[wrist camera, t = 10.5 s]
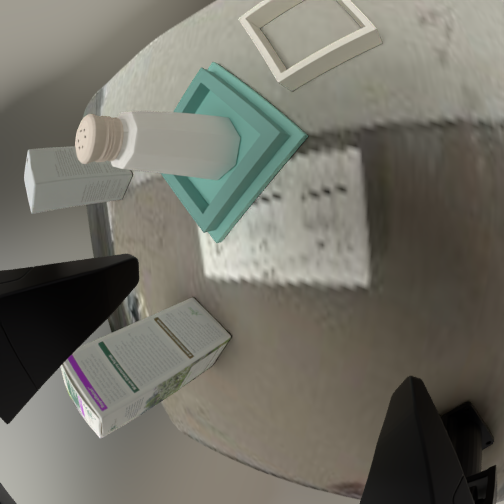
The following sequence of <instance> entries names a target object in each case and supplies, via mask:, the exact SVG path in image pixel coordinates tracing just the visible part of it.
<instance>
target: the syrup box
mask: <svg viewBox="0 0 504 504" xmlns="http://www.w3.org/2000/svg"><path fill="white" fill-rule="evenodd" d="M230 338H231V336H230V334H229V333H228V332H227V331H226V330H225V329H224V328H223V327H222V326H221V325H220V324H219V323H218V322H217V321H216V320H215V319H214V318H213V317H212V316H211V315H210V314H209V313H208V312H207V311H206V310H205V309H204V308H203V307H202V306H201V305H200V304H199V303H198V302H197V301H196V300H195V299H194V298H189V299H187V300H185V301H183V302H181V303H178V304H176V305H174V306H172V307H169V308H167V309H165V310H163V311H160V312H158V313H156V314H154V315H151V316H149V317H147V318H144V319H142V320H140V321H138V322H136V323H133V324H131V325H129V326H127V327H124V328H122V329H120V330H117V331H115V332H113V333H111V334H108V335H106V336H104V337H101V338H99V339H97V340H94V341H92V342H90V343H87V344H85V345H83V346H81V347H79V348H78V349H77V350H76V351H75V352H74V353H73V354H72V355H71V356H70V357H69V358H68V359H67V360H66V361H65V362H64V363H63V364H62V365H61V370H62V374H63V378H64V382H65V386H66V389H67V391H68V393H69V395H70V397H71V399H72V401H73V402H74V405H75V406H76V408H77V409H78V411H79V412H80V414H81V415H82V417H83V418H84V419H85V421H86V422H87V423H88V424H89V425H90V427H91V428H92V429H93V430H94V431H95V433H96V434H97V435H98V436H99V438H102V437H104V436H106V435H108V434H109V433H111V432H113V431H115V430H116V429H118V428H120V427H121V426H123V425H125V424H126V423H128V422H130V421H131V420H133V419H135V418H136V417H138V416H139V415H141V414H143V413H144V412H145V411H147V410H149V409H150V408H152V407H153V406H155V405H156V404H158V403H159V402H161V401H163V400H164V399H166V398H167V397H169V396H170V395H172V394H173V393H175V392H176V391H178V390H179V389H181V388H182V387H184V386H185V385H186V384H188V383H189V382H191V381H192V380H194V379H195V378H196V377H198V376H199V375H201V374H202V373H204V372H205V371H206V370H208V369H209V368H210V367H212V366H213V364H214V363H215V361H216V360H217V358H218V357H219V355H220V354H221V352H222V351H223V349H224V347H225V346H226V345H227V343H228V342H229V340H230Z"/></svg>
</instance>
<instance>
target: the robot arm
mask: <svg viewBox="0 0 504 504" xmlns="http://www.w3.org/2000/svg"><path fill="white" fill-rule="evenodd" d="M138 282H139V262H138V259H137V258H136V257H134V256H132V255H130V254H121V255H113V256H106V257H98V258H91V259H84V260H77V261H70V262H62V263H56V264H49V265H42V266H35V267H28V268H20V269H13V270H2V271H0V417H1V418H2V420H4V422H5V423H7V424H8V423H10V422H11V421H12V420H13V418H14V417H15V416H16V415H17V414H18V413H19V412H20V410H21V409H22V408H23V407H24V406H25V405H26V403H27V402H28V401H29V400H30V399H31V398H32V397H33V396H34V394H35V393H36V392H37V391H38V389H40V388H41V386H42V385H43V384H44V383H45V382H46V381H47V380H48V379H49V378H50V377H51V376H52V375H53V374H54V372H55V371H56V370H57V369H58V368H59V367H60V366H61V365H62V364H63V363H64V362H65V361H66V360H67V359H68V358H69V357H70V356H71V355H72V354H73V353H74V352H75V351H76V350H77V349H78V348H79V347H80V345H81V344H82V343H83V342H84V341H85V340H86V339H87V338H88V337H89V336H90V335H91V334H92V333H93V332H94V331H95V330H96V329H97V328H98V327H99V326H101V325H102V324H103V323H104V322H105V320H107V319H108V318H109V317H110V316H111V315H112V313H113V312H114V311H115V310H116V309H117V308H118V306H119V305H120V304H121V303H122V302H123V301H124V299H125V298H126V297H127V296H128V295H129V294H130V292H131V291H132V290H133V289H134V288H135V287H136V285H137V284H138ZM465 408H468V409H465ZM493 442H494V438H493V436H492V434H491V432H490V431H489V429H488V427H487V426H486V424H485V423H484V421H483V420H482V418H481V417H480V415H479V414H478V412H477V411H476V409H475V408H474V406H473V405H472V403H471V402H466V403H464V404H462V405H460V406H459V407H457V408H455V409H454V410H452V411H450V412H449V413H447V414H445V415H443V416H441V417H440V416H439V414H438V411H437V409H436V407H435V405H434V403H433V401H432V399H431V397H430V395H429V393H428V391H427V389H426V387H425V385H424V383H423V381H422V380H421V379H420V378H417V377H414V376H409V377H407V378H406V379H405V380H404V381H403V383H402V384H401V385H400V386H399V387H398V388H397V389H396V391H395V392H394V393H393V395H392V397H391V400H390V403H389V407H388V410H387V414H386V417H385V420H384V423H383V427H382V430H381V433H380V436H379V439H378V442H377V445H376V449H375V453H374V457H373V461H372V465H371V468H370V472H369V475H368V479H367V482H366V485H365V489H364V492H363V495H362V498H361V501H360V504H496V497H497V474H496V465H495V466H492V467H490V468H489V469H487V470H485V471H482V472H481V462H482V450H483V449H485V448H487V447H488V446H490V445H492V444H493ZM0 504H16V503H15V501H14V500H13V499H12V498H11V496H10V495H9V494H8V492H7V491H6V490H5V488H4V487H3V486H2V484H1V483H0Z"/></svg>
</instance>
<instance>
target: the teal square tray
mask: <svg viewBox="0 0 504 504" xmlns="http://www.w3.org/2000/svg"><path fill="white" fill-rule="evenodd" d="M174 112H177V113H190V114H202V115H211V116H220V117H228V118H229V119H230V121H231V123H232V124H233V126H234V128H235V129H236V131H237V133H238V135H239V136H240V144H239V149H238V155H237V160H236V165H235V166H234V167H232V168H231V169H230V170H229V171H228V172H227V173H225V174H224V175H223V176H222V177H221V178H220V179H218V180H210V179H203V178H196V177H188V176H180V175H172V174H163V173H161V174H162V176H163V177H164V179H165V180H166V181H167V183H168V184H169V186H170V187H171V188H172V190H173V191H174V193H175V194H176V195H177V197H178V198H179V199H180V201H181V202H182V204H183V205H184V206H185V208H186V209H187V210H188V212H189V213H190V215H191V216H192V217H193V219H194V220H195V221H196V223H197V224H198V226H199V227H200V228H201V230H202V231H203V232H204V233H205V232H208V233H209V234H210V235H211V237H212V238H213V239H214V241H215V242H216V243H219V242H222V240H223V239H224V238H225V237H226V235H227V234H228V233H229V232H230V230H231V229H232V228H233V227H234V225H235V224H236V223H237V222H238V220H239V219H240V218H241V217H242V215H243V214H244V213H245V212H246V210H247V209H248V208H249V207H250V205H251V204H252V203H253V202H254V201H255V199H256V198H257V197H258V196H259V194H260V193H261V192H262V191H263V190H264V188H265V187H266V186H267V185H268V184H269V182H270V181H271V180H272V179H273V178H274V176H275V175H276V174H277V173H278V172H279V170H280V169H281V168H282V167H283V166H284V164H285V163H286V162H287V161H288V160H289V158H290V157H291V156H292V155H293V154H294V153H295V151H296V150H297V149H298V148H299V147H300V146H301V144H302V143H303V142H304V141H305V140H306V139H307V137H308V135H307V134H306V133H305V132H304V131H302V130H301V129H300V128H299V127H298V126H297V125H296V124H295V123H293V122H292V121H291V120H290V119H289V118H288V117H286V116H285V115H284V114H283V113H282V112H280V111H279V110H278V109H277V108H276V107H274V106H273V105H272V104H271V103H270V102H268V101H267V100H266V99H265V98H263V97H262V96H261V95H259V94H258V93H257V92H256V91H254V90H253V89H252V88H250V87H249V86H248V85H246V84H245V83H244V82H242V81H241V80H240V79H238V78H237V77H236V76H234V75H233V74H231V73H230V72H229V71H227V70H226V69H224V68H223V67H221V66H220V65H219V64H217V63H215V62H212V64H211V65H210V67H209V68H208V70H206V69H204V68H201V69H200V70H199V72H198V73H197V75H196V76H195V78H194V79H193V81H192V82H191V84H190V85H189V87H188V89H187V90H186V92H185V93H184V95H183V97H182V98H181V100H180V102H179V103H178V105H177V107H176V108H175V110H174Z"/></svg>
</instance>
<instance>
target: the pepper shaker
mask: <svg viewBox="0 0 504 504" xmlns="http://www.w3.org/2000/svg"><path fill="white" fill-rule="evenodd" d="M239 144H240V136H239V135H238V133H237V131H236V129H235V128H234V126H233V124H232V123H231V121H230V119H229V118H228V117H220V116H211V115H202V114H190V113H177V112H159V111H127V112H120V113H119V114H118V116H117V117H116V118H111V117H110V116H109V117H107V116H101V117H99V116H96V115H94V114H88V115H87V116H85V117H84V118H83V119H82V121H81V123H80V126H79V128H78V130H77V134H76V141H75V148H76V154H77V158H78V160H79V161H80V162H81V163H82V164H88V163H91V162H94V161H95V162H105V161H111V164H112V166H113V167H117V168H121V169H127V170H134V171H144V172H154V173H163V174H172V175H180V176H188V177H196V178H203V179H210V180H218V179H220V178H221V177H222V176H223V175H224V174H225V173H227V172H228V171H229V170H230V169H231V168H232V167H234V166H235V165H236V160H237V155H238V149H239Z"/></svg>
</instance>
